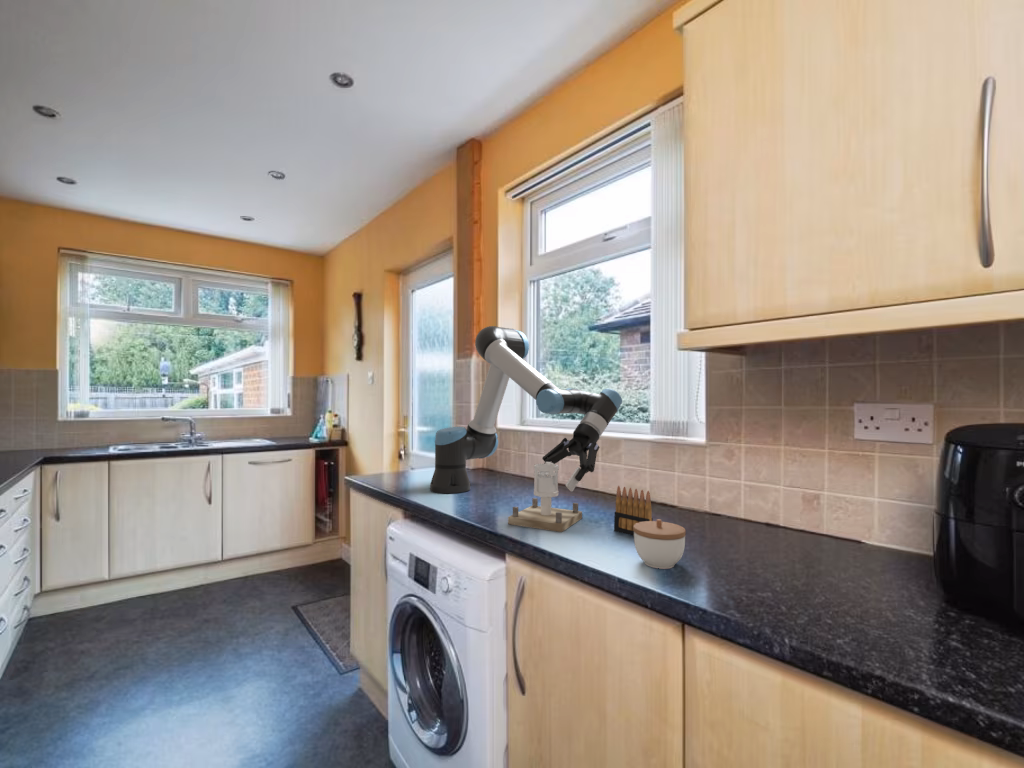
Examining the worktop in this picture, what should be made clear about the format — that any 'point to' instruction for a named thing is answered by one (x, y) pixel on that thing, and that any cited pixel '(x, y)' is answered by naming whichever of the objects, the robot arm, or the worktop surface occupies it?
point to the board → (545, 517)
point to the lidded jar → (659, 543)
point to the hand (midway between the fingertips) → (552, 484)
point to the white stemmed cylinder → (546, 485)
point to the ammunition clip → (631, 510)
